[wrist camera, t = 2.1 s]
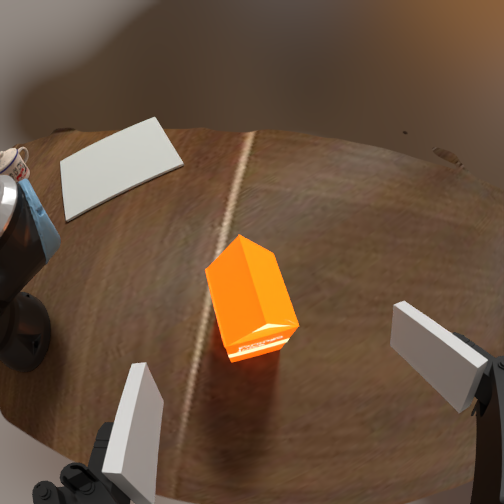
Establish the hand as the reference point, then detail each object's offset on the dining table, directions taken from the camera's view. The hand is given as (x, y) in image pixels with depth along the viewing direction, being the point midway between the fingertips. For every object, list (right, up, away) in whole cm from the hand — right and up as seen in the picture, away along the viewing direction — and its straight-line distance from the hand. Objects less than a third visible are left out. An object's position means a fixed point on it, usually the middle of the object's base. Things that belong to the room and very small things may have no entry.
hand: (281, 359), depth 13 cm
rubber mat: (-33, +26, +45) cm, 62 cm away
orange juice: (-2, -6, +29) cm, 29 cm away
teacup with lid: (-66, +26, +44) cm, 83 cm away
